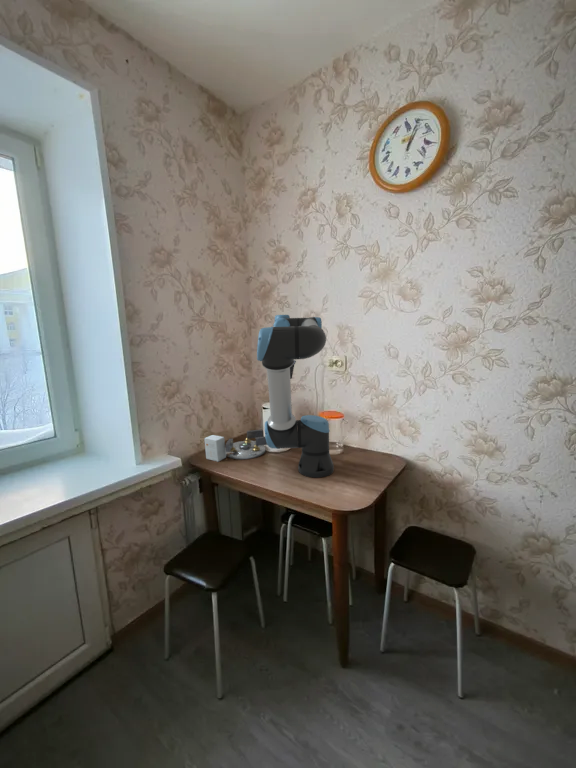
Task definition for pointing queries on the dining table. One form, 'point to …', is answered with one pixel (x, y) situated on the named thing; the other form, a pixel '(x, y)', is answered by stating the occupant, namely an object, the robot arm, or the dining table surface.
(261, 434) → the knob right
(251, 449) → the plate
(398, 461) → the dining table surface
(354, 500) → the dining table surface
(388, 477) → the dining table surface
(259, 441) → the knob near
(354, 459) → the dining table surface
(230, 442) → the knob left
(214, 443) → the small box
